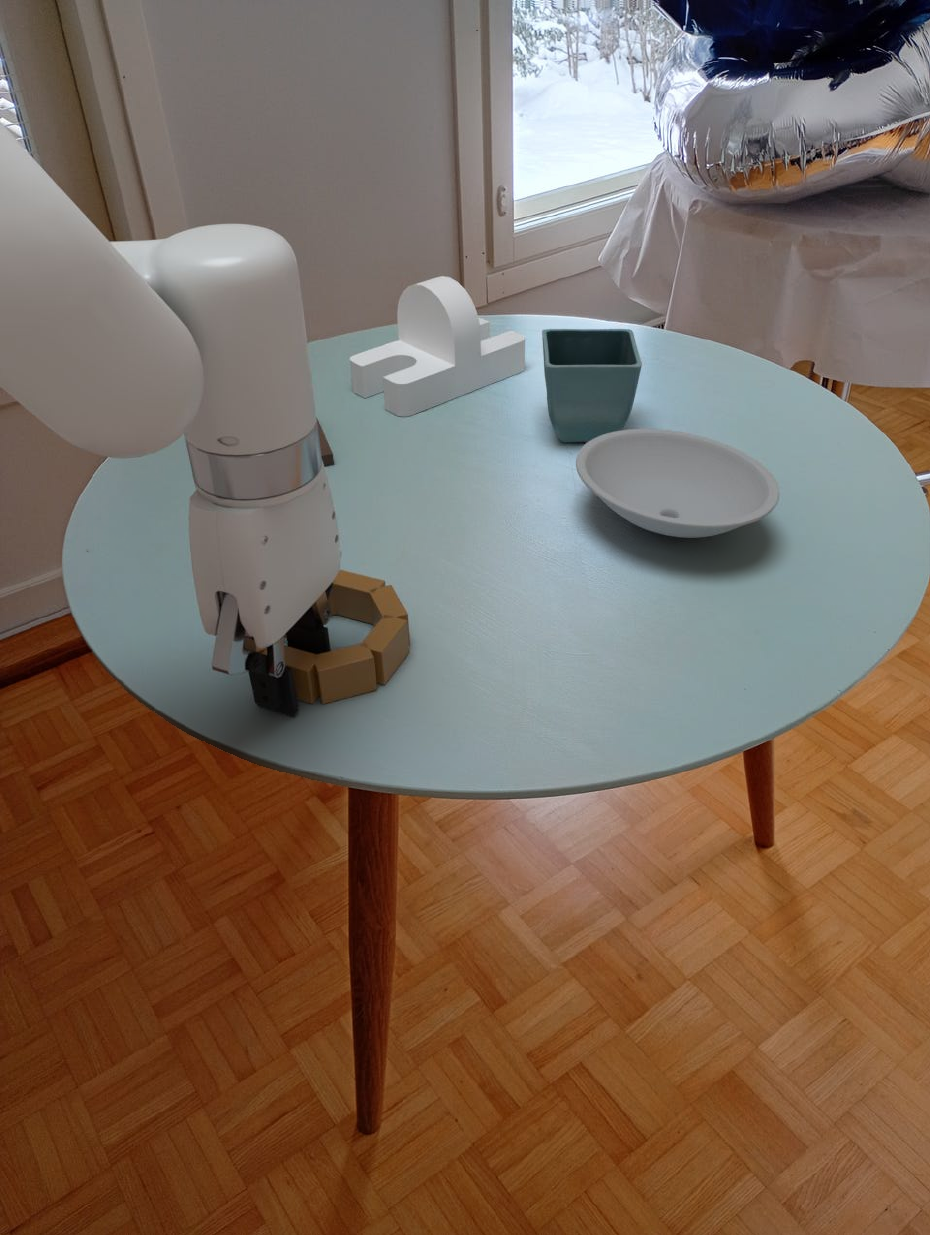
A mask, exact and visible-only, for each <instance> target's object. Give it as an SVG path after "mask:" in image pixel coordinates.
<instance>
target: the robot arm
mask: <svg viewBox="0 0 930 1235" xmlns="http://www.w3.org/2000/svg"><path fill="white" fill-rule="evenodd" d="M301 287H302V286H301V278H300V272H299V266H298V260H297V257H296V254H295V251H294V250H293V247H292V246H291V244H290V243H289V242H288V241H287V240H286V238H285V237H284V236H282V235H281V234H279V233H278V232H276V231H274V230H273V229H270V228H267V227H263V226H260V225H253V224H248V223H247V224H246V223H218V224H207V225H202V226H197V227H193V228H189V229H186V230H183V231H180V232H178V233H175V234H173V235H171V236H168V237H166V238H161V239H147V240H125V241H122V240H121V241H110V240H109V239H108V238H107V237H106V236H105V235H104V234H103V233H102V231H100V230H99V228H97V227H96V225H95V224H94V222H92V221H91V220H90V219H89V218H88V217H87V215H86V214H85V213H84V212H83V211H82V210H81V208H80V207H78V206H77V205H76V204H75V202H74V201H73V200H72V199H71V197H69V196H68V195H67V193H65V192H64V191H63V189H62V188H61V187H60V186H59V185H58V184H57V183H56V182H55V180H54V179H53V178H52V177H51V176H50V175H49V174H48V173H47V171H45V170H44V169H43V168H42V166H41V165H40V164H39V163H38V162H37V161H36V160H35V159H34V157H33V156H32V155H31V154H30V153H29V152H28V151H27V150H26V149H25V147H24V146H23V145H22V144H21V143H20V142H19V141H18V139H16V137H15V136H14V135H13V134H12V132H10V131H9V130H8V128H7V127H6V126H5V125H4V124H3V123H2V122H1V121H0V388H1V389H2V390H4V391H5V392H6V393H7V394H9V396H11V397H12V398H13V399H14V400H16V401H17V402H18V403H19V404H20V405H21V406H22V407H24V408H25V409H26V410H27V411H28V412H29V413H31V415H33V416H34V417H35V418H36V419H37V420H39V421H40V422H41V423H43V424H44V425H45V426H46V427H48V428H49V429H50V430H51V431H52V432H54V433H55V434H56V435H58V436H59V437H60V438H61V439H63V440H65V441H66V442H67V443H69V444H71V445H73V446H74V447H76V448H79V449H81V450H83V451H84V452H85V451H86V452H87V453H90V454H92V455H93V454H94V455H97V456H101V457H104V458H113V459H122V460H123V459H135V458H142V457H145V456H148V455H149V456H150V455H153V454H156V453H158V452H159V451H162V450H164V449H166V448H168V447H169V446H171V445H172V444H174V443H175V442H176V441H177V440H179V439H180V438H181V437H182V436H184V440H185V446H186V450H187V455H188V460H189V464H190V470H191V474H192V479H193V484H194V487H195V491H194V492H193V493H192V494H191V495H190V497H189V501H188V502H189V503H188V537H189V538H188V540H189V553H190V560H191V570H192V577H193V584H194V589H195V595H196V602H197V606H198V612H199V615H200V620H201V624H202V627H203V629H204V631H205V633H206V634H207V635H209V636H211V635H212V636H213V637H215V643H214V648H213V654H212V660H211V669H212V670H213V671H215V672H219V673H222V674H225V675H229V676H236V675H240V674H245V673H246V672H248V676H249V681H250V686H251V690H252V695H253V700H254V703H255V705H256V706H258V707H260V708H263V709H265V710H269V711H272V712H276V713H279V714H281V715H285V716H288V717H295V716H296V714H297V713H298V712H299V710H300V708H299V700H298V699H297V693H296V687H295V681H294V676H293V670H292V668H290V667H289V666H285V651H284V645H285V638H286V646H289V647H292V648H296V649H299V650H303V651H306V652H310V653H313V654H321V653H325V652H329V651H332V650H331V649H332V648H331V642H330V638H329V637H330V635H329V628H328V627H327V626H326V625H327V624H328V623H329V621H330V620H331V617H332V616H331V610H330V606H329V603H328V598H329V595H330V592H331V589H332V587H333V586H332V584H333V581H334V579H335V578H336V576H337V574H338V572H339V570H341V559H342V551H341V543H340V535H339V533H340V532H339V527H338V520H337V515H336V509H335V502H334V500H333V495H332V491H331V486H330V481H329V478H328V474H327V471H326V468H325V467H326V466H324V464H323V461H322V457H321V449H320V440H319V432H318V424H317V419H318V417H317V411H316V404H315V394H314V386H313V378H312V377H313V376H312V372H311V371H312V369H311V362H310V361H311V360H310V354H309V353H310V352H309V343H308V335H307V326H306V319H305V312H304V303H303V296H302V288H301ZM316 417H317V418H316ZM285 633H286V636H285V637H284V634H285ZM256 646H257V648H259V649H263V648H266V647H267V655H265V654H262V653H258V652H256Z"/></svg>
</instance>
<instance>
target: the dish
mask: <svg viewBox="0 0 930 1235" xmlns="http://www.w3.org/2000/svg"><path fill="white" fill-rule="evenodd" d="M575 468H576V471H577V475H578V476H579V478H580V480H581V482H582V483H583V484H584V485H585V486H586V487H587V488H588V489H589V491H590V492H592V493H593V494H594V495H596V496H597V497H599V499H601V500H602V502H603V503H604V504H605V505H606V506H607V507H608V508H610V509H611V510H612V511H613V512H614V513H616V514H617V515H619V516H620V517H621V518H623V519H624V520H626V521H628V522H629V523H632V524H633V525H634V526H637V527H640V528H642V529H644V530H647V531H650V532H652V533H656V534H658V535H664V536H669V537H675V538H685V539H686V538H687V539H694V538H695V539H696V538H698V539H699V538H707V537H713V536H718V535H722V534H724V533H725V534H726V533H728V532H730V531H733V530H735V529H737V528H741V527H742V526H746V525H749V524H752V523H755V522H758V521H759V520H762V519H763V518H765V517H767V516H768V515H769V514H771V513H772V512H773V510H774V509H775V508H776V506H777V505H778V502H779V500H780V489H779V488H780V487H779V485H778V481H777V480H776V479H775V477H774V476H773V474H772V473H771V472H770V471H769V470H768V469H767V468H766V467H765V466H764V465H763V464H762V463H760V462H759V461H757V459H755V458H754V457H752V456H750V455H749V454H747V453H745V452H743V451H742V450H739V449H737V448H735V447H734V446H731V445H728V444H727V443H723V442H721V441H719V440H715V439H712V438H709V437H706V436H702V435H698V434H694V433H689V432H683V431H677V430H672V429H662V428H661V429H659V428H632V429H621V431H615V432H611V433H607V434H604V435H601V436H598V437H596V438H594V439H592V440H590V441H589V442H585V444H583V445H582V446H581V447H580V449H579V451H578V453H577V455H576V457H575Z"/></svg>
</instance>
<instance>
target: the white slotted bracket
mask: <svg viewBox="0 0 930 1235" xmlns="http://www.w3.org/2000/svg"><path fill="white" fill-rule="evenodd" d="M396 315H397V316H396V318H397V336H398V339H397V340H394V341H391V342H387V343H385V344H382V345H379V346H376V347H374V348H370V349H367V350H365V351H363V352H359V353H356V354H353V355H352V356H350V357H349V366H350V376H351V387H352V392H353V393H354V394H356V395H358V396H359V397H361V398H363V399H367V398H370V397H372V396H375V395H378V394H380V393H383V398H384V410H385V411H387V412H389V413H391V414H393V415H395V416H397V417H401V418H405V417H411V416H414V415H417V414H418V413H422V412H425V411H426V410H429V409H432V408H434V407H436V406H439V405H441V404H445V403H446V402H450V401H452V400H454V399H457V398H459V397H461V396H464V395H466V394H469V393H472V392H475V391H477V390H480V389H482V388H485V387H487V386H490V385H492V384H495V383H498V382H500V381H502V380H505V379H507V378H510V377H511V376H512V377H513V376H515V375H518V374H520V373H522V372H524V371H525V369H526V336H525V335H523V334H521V333H518V332H516V331H514V330H509V331H506V332H503V333H500V334H497V335H494V336H492V337H491V336H490V335H491V332H490V330H491V326H490V325H491V324H490V323H491V322H490V320H487V319H484V318H482V317H479V315H478V312H477V309H476V307H475V304H474V302H473V300H472V298H471V296H470V295H469V293H468V292H467V290H466V289H465V288H464V287H463V286H462V285H461V284H460V282H458V281H457V280H455V279H453V278H452V277H450V276H444V275H440V276H437V277H433V278H430V279H427V280H423V281H420V282H418V283H414V284H411V285H408V286H407V287H406V288H405V289H404V290H402V293H401V294H400V297H399V299H398V304H397V314H396Z"/></svg>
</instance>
